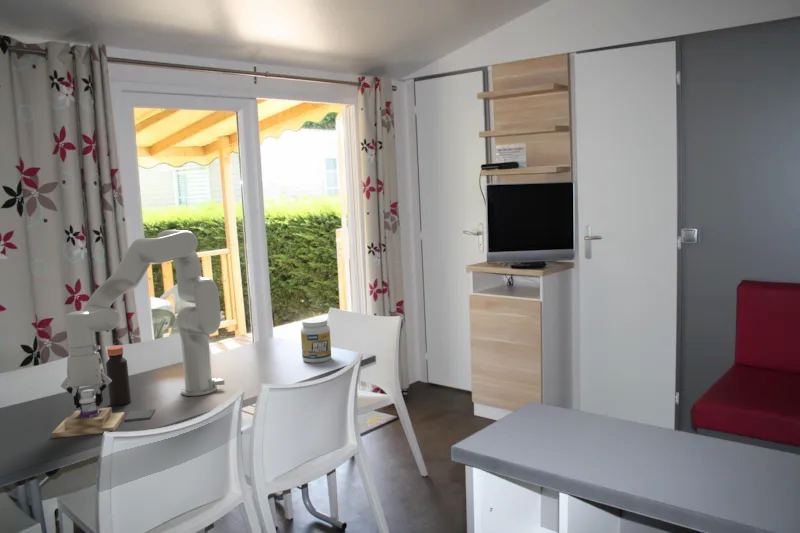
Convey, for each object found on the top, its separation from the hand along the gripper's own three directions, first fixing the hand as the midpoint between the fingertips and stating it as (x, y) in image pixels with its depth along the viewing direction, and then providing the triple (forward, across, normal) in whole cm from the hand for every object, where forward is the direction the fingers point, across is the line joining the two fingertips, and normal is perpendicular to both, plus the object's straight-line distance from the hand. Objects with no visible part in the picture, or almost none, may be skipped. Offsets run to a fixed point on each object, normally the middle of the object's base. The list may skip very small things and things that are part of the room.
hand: (89, 405), depth 211 cm
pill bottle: (+5, 0, 0) cm, 5 cm away
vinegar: (+7, -4, -21) cm, 23 cm away
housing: (+7, 0, +1) cm, 7 cm away
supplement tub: (+8, -74, -57) cm, 94 cm away
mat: (+7, -14, -5) cm, 16 cm away
